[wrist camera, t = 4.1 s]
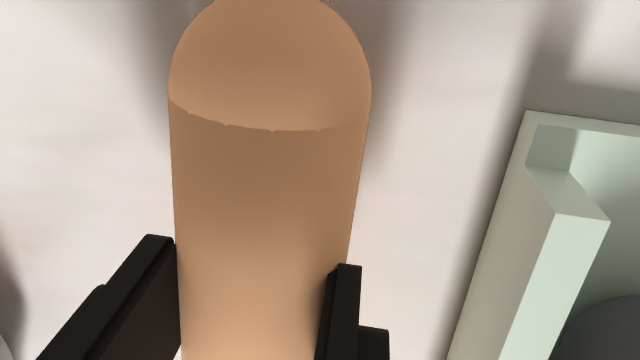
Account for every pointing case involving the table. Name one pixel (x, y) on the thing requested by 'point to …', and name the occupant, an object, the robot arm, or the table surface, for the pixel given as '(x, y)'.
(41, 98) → the table surface
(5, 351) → the cable
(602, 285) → the rack
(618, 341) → the gray pill-shaped rod
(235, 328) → the tan capsule
